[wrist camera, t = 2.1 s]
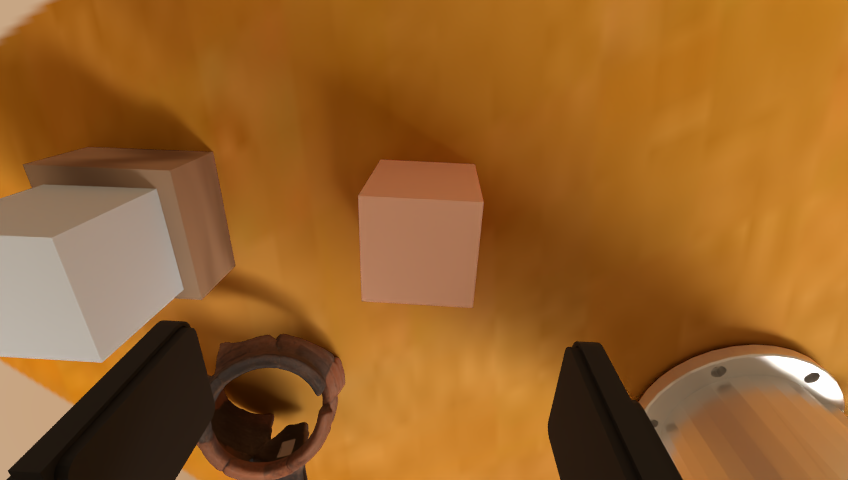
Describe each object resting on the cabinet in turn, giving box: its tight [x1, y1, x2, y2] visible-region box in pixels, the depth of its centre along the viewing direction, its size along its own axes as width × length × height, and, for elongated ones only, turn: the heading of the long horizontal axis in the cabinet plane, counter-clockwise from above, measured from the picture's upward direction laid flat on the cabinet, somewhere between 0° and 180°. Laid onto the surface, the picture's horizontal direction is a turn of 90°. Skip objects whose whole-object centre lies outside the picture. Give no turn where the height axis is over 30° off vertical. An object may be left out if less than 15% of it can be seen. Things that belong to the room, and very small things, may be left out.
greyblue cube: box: [0, 184, 184, 362], centre depth 18 cm, size 6×6×6 cm
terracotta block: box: [358, 160, 484, 308], centre depth 20 cm, size 5×5×6 cm
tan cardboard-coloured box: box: [23, 147, 235, 300], centre depth 22 cm, size 7×7×4 cm
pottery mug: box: [197, 334, 345, 480], centre depth 27 cm, size 12×10×8 cm
